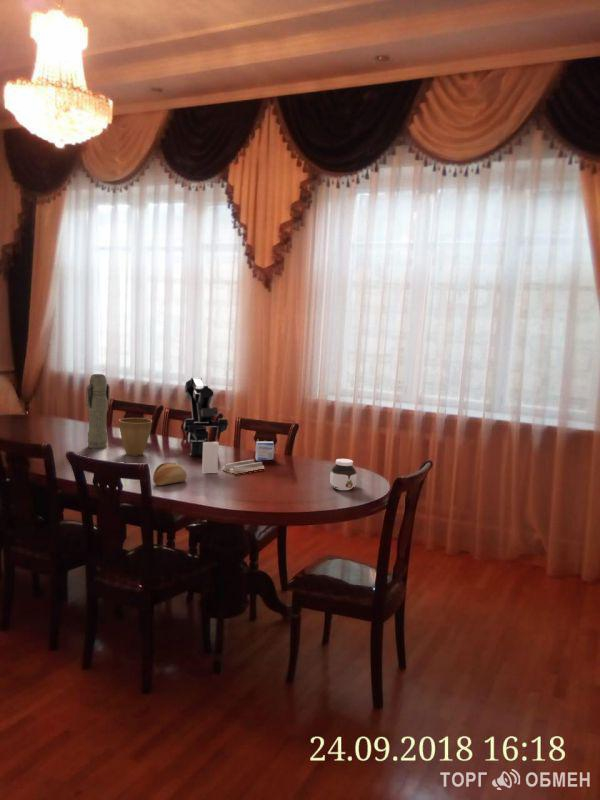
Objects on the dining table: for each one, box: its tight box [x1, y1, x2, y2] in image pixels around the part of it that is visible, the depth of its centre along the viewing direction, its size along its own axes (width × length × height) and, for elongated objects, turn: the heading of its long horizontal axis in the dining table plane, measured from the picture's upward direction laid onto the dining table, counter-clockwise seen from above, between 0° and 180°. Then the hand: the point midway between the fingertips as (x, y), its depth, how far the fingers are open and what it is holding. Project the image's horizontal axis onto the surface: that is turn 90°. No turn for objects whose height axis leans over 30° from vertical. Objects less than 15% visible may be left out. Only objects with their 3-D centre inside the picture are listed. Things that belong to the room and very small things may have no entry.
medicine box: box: [254, 440, 275, 462], centre depth 293 cm, size 8×4×9 cm, turn 105°
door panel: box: [201, 441, 219, 474], centre depth 264 cm, size 3×6×13 cm, turn 109°
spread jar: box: [329, 458, 357, 488], centre depth 253 cm, size 12×11×12 cm
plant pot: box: [118, 417, 153, 457], centre depth 290 cm, size 15×15×16 cm
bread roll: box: [152, 462, 187, 486], centre depth 246 cm, size 10×15×8 cm, turn 144°
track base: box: [222, 459, 265, 475], centre depth 272 cm, size 9×16×3 cm, turn 136°
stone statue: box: [85, 373, 111, 450], centre depth 299 cm, size 9×12×35 cm
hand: (208, 440), depth 269 cm, fingers open, 9 cm apart
